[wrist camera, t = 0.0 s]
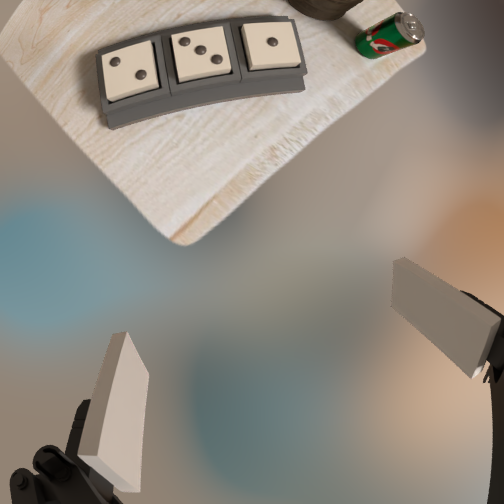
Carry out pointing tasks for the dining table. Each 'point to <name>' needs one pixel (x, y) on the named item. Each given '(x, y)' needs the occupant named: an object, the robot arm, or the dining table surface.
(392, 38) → the soda can
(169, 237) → the dining table surface
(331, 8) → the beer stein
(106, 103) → the button panel
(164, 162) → the dining table surface
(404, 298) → the robot arm
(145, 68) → the tile two dots
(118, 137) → the dining table surface
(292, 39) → the tile one dot
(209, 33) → the tile three dots
